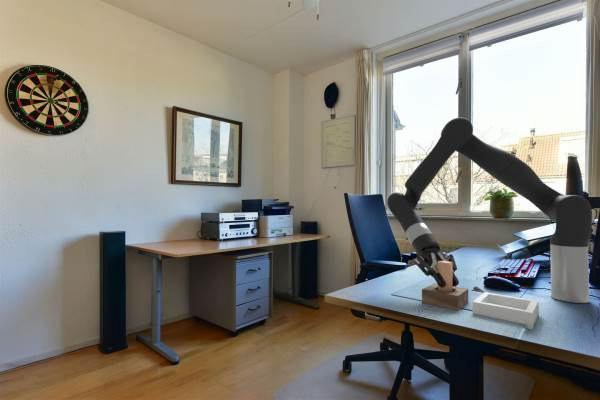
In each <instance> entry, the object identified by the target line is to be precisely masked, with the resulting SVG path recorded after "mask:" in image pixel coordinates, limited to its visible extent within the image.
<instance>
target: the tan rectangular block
mask: <svg viewBox="0 0 600 400" xmlns="http://www.w3.org/2000/svg"><path fill="white" fill-rule="evenodd" d="M437 268H438V271H439V273H440V274H441V275H442V277H443V279H444V280H445V282H446V286H445V287H444V288H441V287H440V286H439V285H438V290H441V291H446V292H453V276H452V268H453V267H452V262H448V261H438V267H437Z"/></svg>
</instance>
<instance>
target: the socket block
mask: <svg viewBox="0 0 600 400" xmlns="http://www.w3.org/2000/svg"><path fill="white" fill-rule="evenodd" d="M421 304H425V305H429V306H434V307H438V308H443V309H444V308H445V309H449V310H453V311H458V312H459V311H460V310H461V309H462V308H463V307H465V306H466V305H467V304H469V288H467V287H466V288H465V287H458V286H456V287H453V292H446V291H441V290H438V284H437V283H434V282H433V283H432V284H430V285H427V286H426V287H424V288H422V289H421Z"/></svg>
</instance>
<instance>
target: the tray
mask: <svg viewBox="0 0 600 400" xmlns="http://www.w3.org/2000/svg"><path fill="white" fill-rule="evenodd" d="M539 303H540V302H539V300H535V299H528V298H523V297H517V296H511V295H505V294H499V293H492V292H486V291H484V293H481V294H480V295H479V296H478V297H476V298H475V299H474V300H473V301H472V314H476V315H479V316H485V317H488V318H490V317H491V318H494V319H500V320H504V321H509V322H514V323H518V324H523V328H524V329H529V330H534V327H535V326H536V323H537V320H538V319H539V317H540V304H539Z"/></svg>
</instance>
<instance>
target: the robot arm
mask: <svg viewBox="0 0 600 400" xmlns="http://www.w3.org/2000/svg"><path fill="white" fill-rule="evenodd" d="M473 132H474V127H473V124H472V122H471V121H470V120H469V119H468V118H465V117H456V118H452V119H450V120H449V121H448V122H447V123H445V125H444V127H443V128H442V129H441V132H440V137H439V138H438V141H437V142H436V144H435V145H434V146H433V148H432V149H431V151H430V152H429V153H428V154H427V156H426V157H425V158H424V159H423V160H422V161H421V162H420V163H419V165H418V166H417V167H416V168H415V169H414V170H413V172H412V173H411V175H409V177H408V178H407V179H406V181H405V182H404V187H405V189H406V191H405V193H404V194H403V193H401V192H397V191H396V192H393V193H391V194H390V195H389V196H388V198H387V200H386V201H387V204H386V205H387V207H388V210H389V211H390V213H391V214H392V215H393V216H394V218H395V219H396V220H397V221H398V223H399V224H400V225H401V227H402V230H403V231H404V233H405V235H406V237H407V239H408V242H409V243H410V245H411V247H412V248H413V250H414V252H415V254H416V255H417V256H416V258H415V259H414V260H413V263H414V264H415V266H417V267H418V268H419V269H420V271H422V273H424V275H425V276H427V277H429V276H431V277H432V278H433V279H434V280H435V282H436V284H438V285H439V286H440V287H441V288H444V287H445V286H446V282H445V280H444V279H443V277H442V275H441V274H440V273H439V271H438V261H448V262H452V276H453V287H458V285H459V284H460V281H459V280H460V279H458V277H457V275H456V274H455V272H456V271H457V270H458V266H457V264H456V263H457V262H456V260H455V257H454V254H452V253H451V254H449V255H447V254H445V253H444V252H443V251H442V250H441V247H440V243H439V241H438V240H437V239H436V237H435V236H434V234H433V233H432V231H431V229H430V228H429V227H428V226H427V225H426V223H425V221H424V220H423V219H422V218H421V216H420V214H419V213H418V212H416V211H415V209H416V208H417V206H418V204H419V202H420V199H421V197H422V195H423V193H424V192H425V190H426V189H427V188H428V187H429V186H430V184H431V183H432V182H433V180H434V179H435V177H436V176H437V174H438V173H439V172H440V170H441V169H442V167H444V165H445V164H446V163H447V161H448V160H449V159H450V158H451V156H453V155H454V153H455V152H457V153H459V154H461V155H463V156H465V157H466V158H467V159H469V160H471V161H472V162H473V163H474V164H475V165H477V166H478V167H479V168H480V169H482V170H483V171H484V172H486V173H488V174H489V175H490V176H491V177H492V178H494V179H495V180H496V181H498V182H499V183H501V184H503V185H504V186H506V187H507V188H509V189H510V190H511V191H513V192H515V193H516V194H517V195H520V196H521V197H523V198H525V199H526V200H527V201H529V202H530V203H531V204H533V205H534V207H536V208H538V209H539V210H540V212H542V213H543V214H544V215H545V216H546V217H548V218H549V219H550V220H551V221H554V222H555V231H554V232H553V234H551V235H550V239H549V241H550V243H549V245H550V247H549V249H550V250H549V251H550V297H551V298H553V299H556V300H559V301H563V302H568V303H573V304H574V303H576V304H587V303H589V302H590V285H589V284H590V281H589V280H590V278H589V277H590V276H589V274H590V273H589V271H590V270H589V267H590V266H589V241H590V239H591V237H592V231H593V229H592V226H593V225H592V223H593V211H592V209H593V208H592V206H591V203H590V202H589V200H588V199H586V198H585V197H583V196H581V195H577V194H572V195H571V194H566V195H564V194H563V193H561V192H559V191H557V190H555V189H554V188H552V187H550V186H549V185H547V184H546V183H545V182H543V180H542V179H540V177H539V175H538V174H537V173H536V172H535V171H534V170H533V168H532V167H531V166H530V165H528V164H527V163H526V162H525V161H523V160H521V159H520V158H519V157H518V156H515V155H514V154H512V153H510V152H508V151H506V150H504V149H502V148H499V147H497V146H493V145H491V144H489V143H486V142H484V141H482V140H481V139H480V138H479V137H477V136H476V135H474V133H473Z"/></svg>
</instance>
